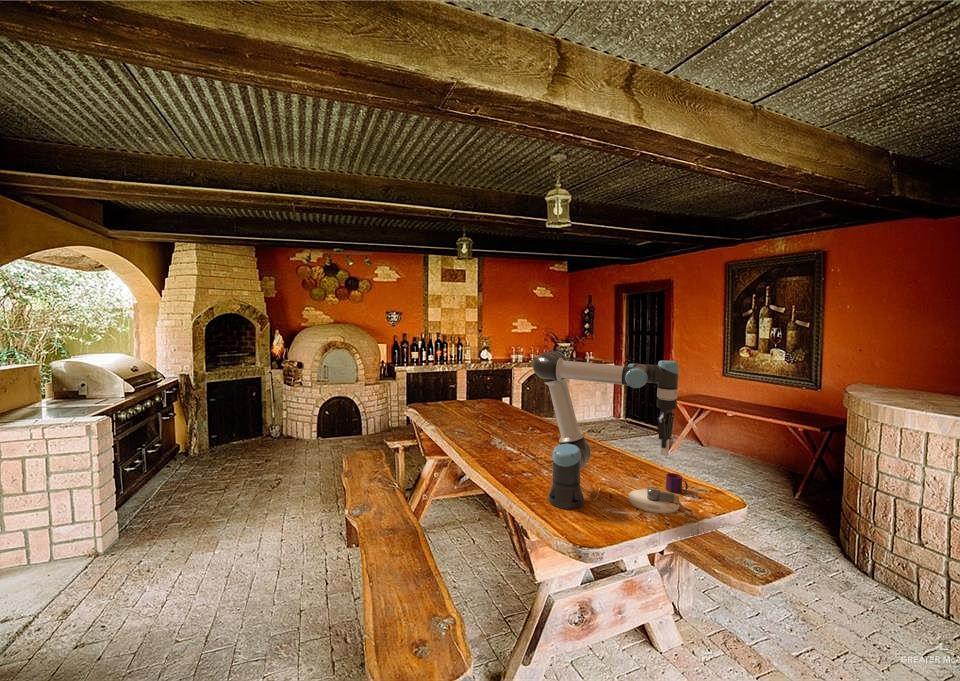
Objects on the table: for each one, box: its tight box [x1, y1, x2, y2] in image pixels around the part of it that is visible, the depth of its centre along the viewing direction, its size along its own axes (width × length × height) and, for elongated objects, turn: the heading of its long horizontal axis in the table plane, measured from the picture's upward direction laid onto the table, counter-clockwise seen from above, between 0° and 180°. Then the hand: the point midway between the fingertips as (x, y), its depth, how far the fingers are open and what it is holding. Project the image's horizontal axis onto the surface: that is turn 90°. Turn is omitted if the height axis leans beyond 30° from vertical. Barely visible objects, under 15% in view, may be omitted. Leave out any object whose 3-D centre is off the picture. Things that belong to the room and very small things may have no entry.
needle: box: [646, 486, 680, 505], centre depth 177 cm, size 12×5×4 cm, turn 62°
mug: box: [665, 472, 689, 494], centre depth 190 cm, size 7×10×7 cm
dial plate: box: [628, 488, 680, 514], centre depth 179 cm, size 20×20×2 cm
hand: (664, 455), depth 173 cm, fingers closed
